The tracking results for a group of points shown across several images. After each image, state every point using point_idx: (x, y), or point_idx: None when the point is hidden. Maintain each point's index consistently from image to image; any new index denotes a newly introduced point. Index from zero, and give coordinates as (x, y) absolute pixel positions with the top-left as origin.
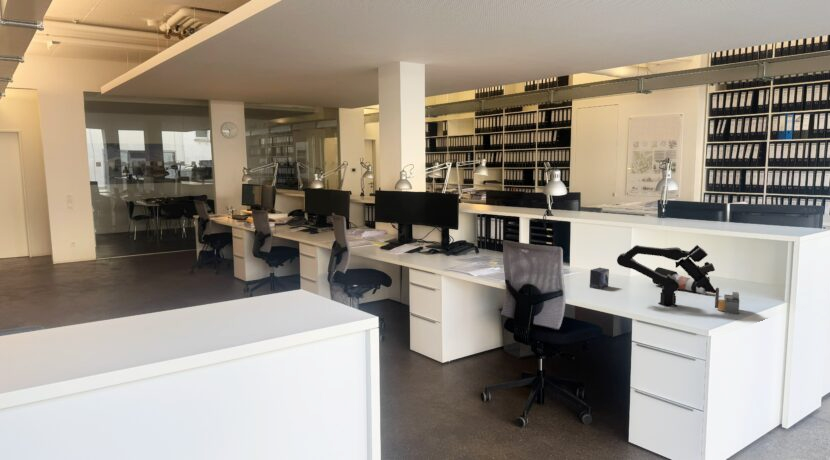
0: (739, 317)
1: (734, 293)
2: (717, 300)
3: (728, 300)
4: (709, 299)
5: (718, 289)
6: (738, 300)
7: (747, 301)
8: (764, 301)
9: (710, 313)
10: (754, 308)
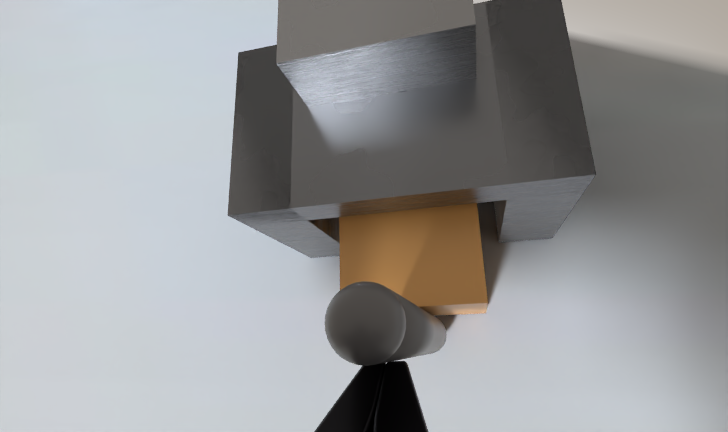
0: (689, 86)
1: (410, 16)
2: (433, 321)
3: (582, 140)
4: (3, 399)
5: (398, 297)
6: (558, 2)
7: (23, 96)
8: (6, 6)
9: (703, 412)
10: (229, 27)
